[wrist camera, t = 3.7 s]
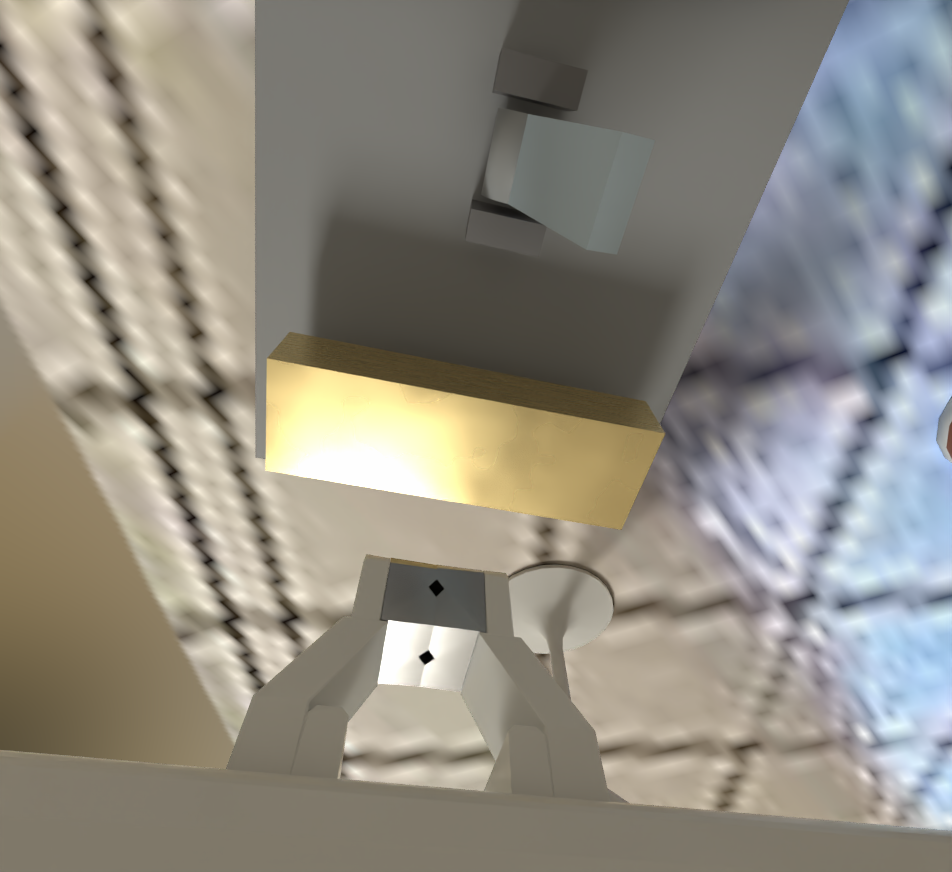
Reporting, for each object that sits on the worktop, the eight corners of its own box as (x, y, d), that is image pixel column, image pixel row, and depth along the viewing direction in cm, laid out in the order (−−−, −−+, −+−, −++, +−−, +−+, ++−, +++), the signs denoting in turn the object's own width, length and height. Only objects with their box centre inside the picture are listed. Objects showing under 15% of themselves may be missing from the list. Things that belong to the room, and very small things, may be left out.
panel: (875, -282, 14) (1166, -572, 8) (593, 450, 25) (628, 550, 20) (331, -476, 12) (202, -1002, 7) (295, 396, 24) (236, 486, 18)
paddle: (545, 119, 14) (675, 145, 10) (526, 199, 15) (635, 257, 11) (489, 105, 14) (600, 126, 9) (473, 189, 15) (565, 246, 10)
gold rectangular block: (645, 401, 17) (665, 433, 15) (607, 491, 19) (621, 529, 17) (289, 331, 16) (266, 358, 14) (286, 435, 17) (265, 470, 16)
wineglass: (566, 540, 28) (724, 1282, 10) (640, 616, 31) (863, 1293, 13) (458, 603, 31) (432, 1291, 13) (536, 668, 34) (604, 1298, 16)
